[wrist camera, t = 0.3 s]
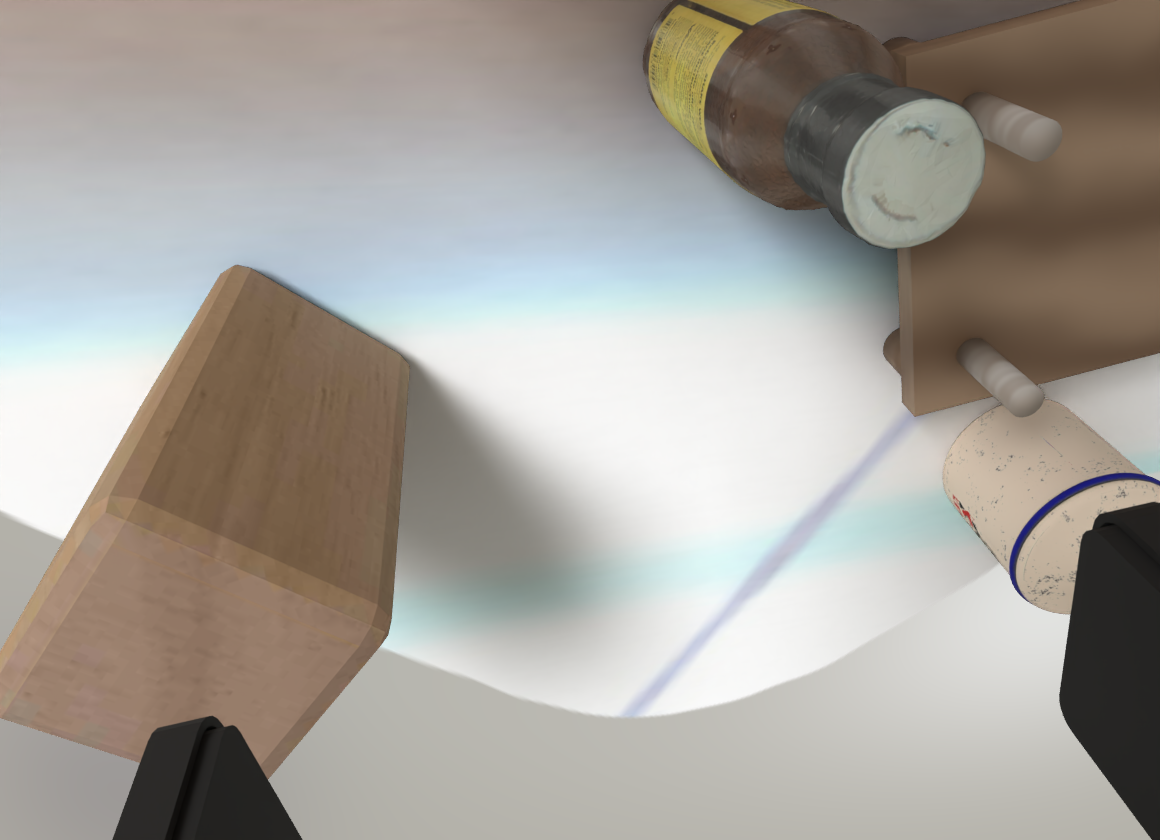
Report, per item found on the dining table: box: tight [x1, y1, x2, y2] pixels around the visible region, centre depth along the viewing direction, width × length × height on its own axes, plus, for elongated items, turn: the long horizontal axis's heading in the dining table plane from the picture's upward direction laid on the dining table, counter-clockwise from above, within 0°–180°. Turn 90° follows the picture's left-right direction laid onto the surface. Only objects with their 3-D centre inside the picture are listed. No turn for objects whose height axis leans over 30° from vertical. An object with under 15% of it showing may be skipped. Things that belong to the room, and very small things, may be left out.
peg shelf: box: [883, 0, 1160, 417], centre depth 41 cm, size 18×18×10 cm
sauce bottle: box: [643, 0, 986, 249], centre depth 32 cm, size 6×6×20 cm
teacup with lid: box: [943, 399, 1160, 614], centre depth 50 cm, size 12×9×12 cm
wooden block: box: [0, 265, 410, 779], centre depth 37 cm, size 10×10×20 cm
